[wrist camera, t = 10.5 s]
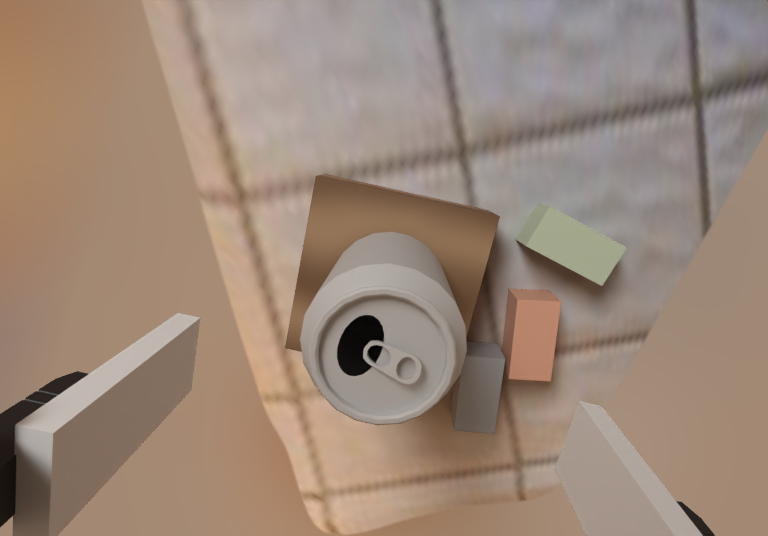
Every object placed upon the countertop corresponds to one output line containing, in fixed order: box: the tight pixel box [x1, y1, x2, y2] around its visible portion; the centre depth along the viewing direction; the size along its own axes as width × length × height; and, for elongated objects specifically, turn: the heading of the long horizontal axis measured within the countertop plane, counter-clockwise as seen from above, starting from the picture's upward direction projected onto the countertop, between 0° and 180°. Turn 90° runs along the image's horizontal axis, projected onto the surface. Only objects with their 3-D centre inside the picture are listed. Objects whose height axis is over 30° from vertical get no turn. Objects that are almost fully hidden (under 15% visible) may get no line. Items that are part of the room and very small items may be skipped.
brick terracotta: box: [502, 289, 561, 381], centre depth 34 cm, size 6×3×3 cm, turn 178°
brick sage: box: [516, 203, 627, 286], centre depth 32 cm, size 6×3×3 cm, turn 63°
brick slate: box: [450, 341, 505, 434], centre depth 35 cm, size 6×3×3 cm, turn 176°
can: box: [300, 232, 467, 425], centre depth 25 cm, size 8×8×12 cm
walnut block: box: [285, 174, 500, 352], centre depth 33 cm, size 12×12×4 cm
